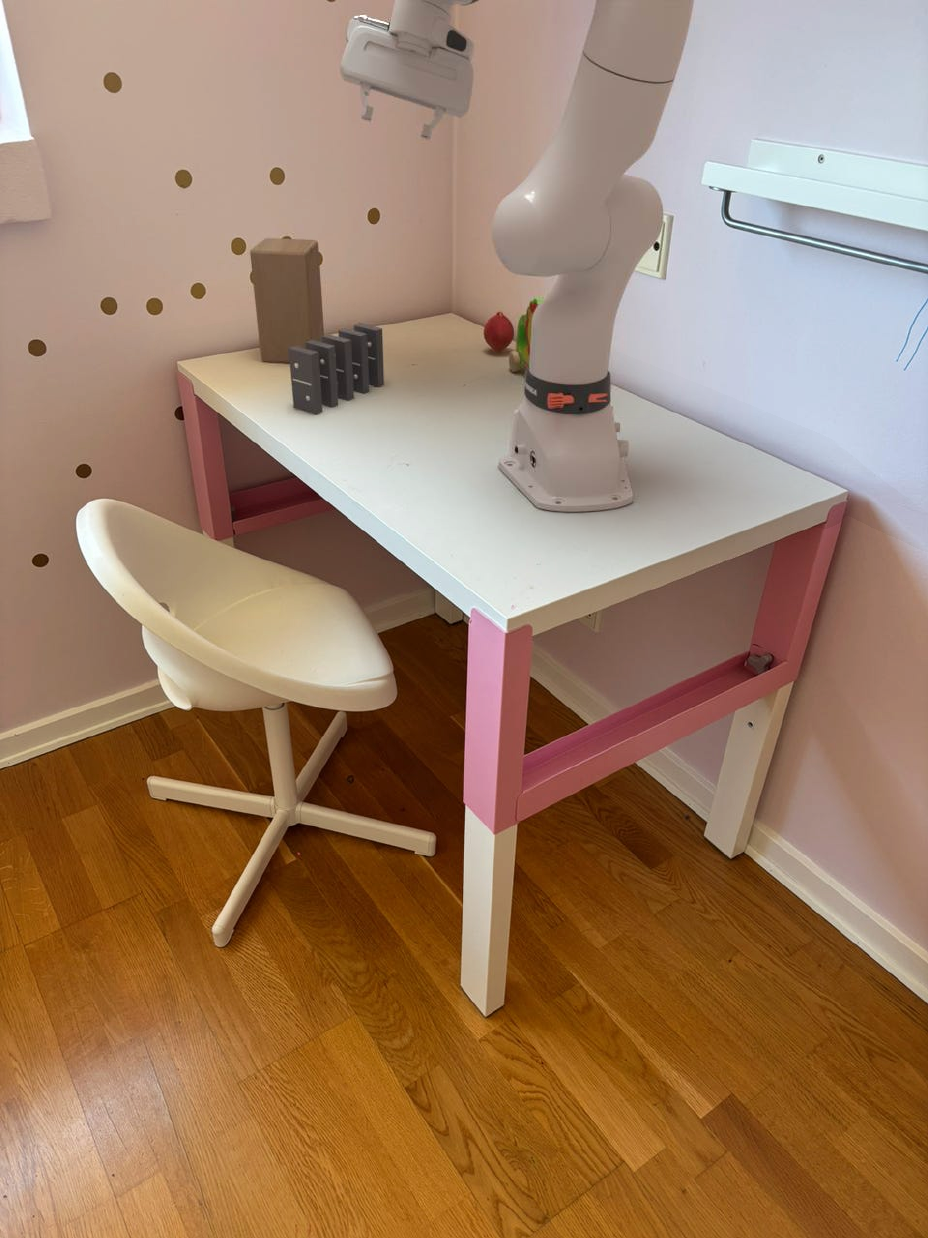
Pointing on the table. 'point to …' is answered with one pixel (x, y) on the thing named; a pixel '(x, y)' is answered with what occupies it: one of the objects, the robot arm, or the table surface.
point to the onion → (498, 332)
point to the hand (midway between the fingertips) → (395, 129)
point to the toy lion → (523, 339)
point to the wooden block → (286, 295)
